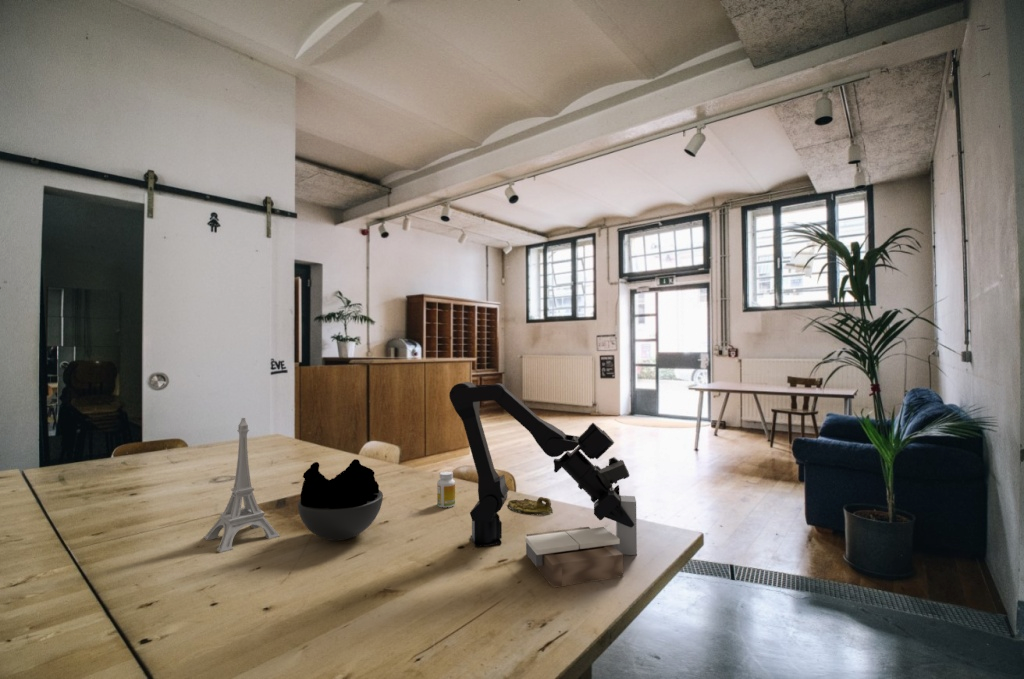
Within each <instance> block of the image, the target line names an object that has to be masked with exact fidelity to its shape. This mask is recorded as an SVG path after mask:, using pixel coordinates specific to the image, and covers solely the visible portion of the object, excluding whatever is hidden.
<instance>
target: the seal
mask: <svg viewBox="0 0 1024 679" xmlns="http://www.w3.org/2000/svg"><path fill="white" fill-rule="evenodd" d="M543 502H544V503H543ZM507 503H508V508H509V507H510V508H511V509H512V510H511V509H510V508H509V509H510V510H511V511H513V510H514V511H513V512H515V511H517V512H516V513H519V512H520V513H519V514H523V513H525V515H531V514H534V515H535V516H540V515H539V514H545V515H551V514H550V513H552V514H553V513H554V510H553V508H552V501H551V499H550V498H547V497H543V496H540V497H538V498H537V499H536V500H531V499H529V498H524V499H519V500H518V499H511V500H509V501H508V502H507ZM537 514H538V515H537ZM534 515H533V516H534Z"/></svg>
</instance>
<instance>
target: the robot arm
mask: <svg viewBox="0 0 1024 679" xmlns="http://www.w3.org/2000/svg"><path fill="white" fill-rule="evenodd" d="M449 400H450V402H451V404H452V406H453V409H454V411H455V413H456V414H457V415H458V417H459V418H460V419H461V421H462V423H463V427H464V431H465V434H466V438H467V442H468V445H469V448H470V452H471V455H472V456H471V457H472V459H473V463H474V467H475V471H476V474H477V477H478V478H477V479H478V480H477V493H478V494H477V496H478V501H477V503H476V504H474V506H473V507H472V509H471V510H470V511H469V515H470V518H471V535H470V536H469V537H470V540H471V542H472V544H473V545H474V547H475V548H480V547H488V546H495V545H502V540H501V539H502V537H503V536H502V534H503V532H502V531H503V529H502V526H503V524H502V521H501V520H500V515H499V514H498V513H499V511H501V509H502V508H503V506H504V504H505V502H506V501H507V499H508V492H509V491H510V488H509V487H508V486H507V483H506V476H505V474H502V475H499V474H498V472H497V471H496V469H495V467H494V462H493V459H492V456H491V451H490V448H489V445H488V441H487V438H486V435H485V430H484V427H483V425H482V420H481V417H480V405H481V404H480V402H487V401H494V402H495V403H497V405H499V406H500V407H501V408H502V409H503V410H505V411H506V412H507V413H508V414H509V415H510V416H511V417H512V418H513V419H514V420H516V421H517V422H518V423H519V424H520V425H521V426H522V427H523V428H525V429H526V430H527V431H528V432H529V434H531V436H532V437H533V439H534V441H535V443H536V444H537V445H538V446H539V447H540V449H541V450H542V452H544V453H545V455H547V456H548V457H551V458H554V459H553V465H554V466H553V467H554V468H553V472H554V473H558V472H559V471H560V470H561V469H563V470H564V471H565V472H566V473H567V474H568V475H569V476H570V477H571V478H572V479H573V480H574V481H575V482H576V484H577V487H578V488H579V489H580V490H583V491H584V492H585V493H586V494H587V495H588V496H589V497H590V501H591V502H592V503H593V515H594V516H595V517H596V518H597V519H598V520H599V521H602V520H603V519H605V518H606V519H608V520H610V521H614V522H615V523H616V522H619V523H621V524H623V525H626V526H628V527H633V526H634V523H633V521H632V520H631V518H630V517H629V516H628V514H627V513H626V511H625V510H624V509H623V507H622V506H621V496H622V495H621V494H620V485H619V484H617V483H618V481H620V480H625V479H628V478H629V477H630V473H629V472H630V471H629V470H628V468H627V466H626V464H625V462H624V460H623V459H617V458H616V457H615V456H613V457H611V458H608V465H605V467H603V468H601V467H600V466H599V465H596V464H593V463H592V462H591V461H590V460H594V459H595V460H599V458H601V457H602V455H604V454H605V453H606V452H607V451H608V450H609V449H610V448H611V447H612V446H613V445H614V444H615V441H614V440H613V439H612V438H611V436H610V435H609V434H608V433H607V432H606V431H605V430H603V429H601V428H600V427H599V426H598V425H596V424H595V423H594V422H592V423H590V424H589V425H588V427H587V429H586V430H585V431H584V432H582V433H581V434H580V435H579V436H578V435H572V434H566V433H565V432H564V431H563V430H561V429H560V428H558V427H556V426H555V425H553V424H551V423H549V422H547V421H546V420H544V419H542V418H540V417H539V416H538V415H537V414H536V413H535V412H534V411H532V410H531V409H530V408H529V407H528V406H527V405H526V404H524V403H523V402H522V401H521V400H520V399H519V398H517V396H516V395H515V394H513V393H512V392H511V391H510V390H508V389H507V387H506V386H505V385H504V384H502V383H500V382H497V383H494V384H474V383H472V382H470V381H464V382H460V383H457V384H455V385H454V386H452V387H451V389H450V391H449ZM571 451H572V452H571ZM560 456H561V457H560ZM556 457H560V458H556ZM614 484H615V485H616V484H617V485H616V486H615V487H613V485H614ZM618 495H621V496H618Z"/></svg>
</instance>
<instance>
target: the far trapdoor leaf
mask: <svg viewBox="0 0 1024 679" xmlns="http://www.w3.org/2000/svg"><path fill="white" fill-rule="evenodd" d="M589 528H590V529H582V530H574V531H566V533H567V534H568V535H569V536H570V537H571V538H572V539H573V540H574V541H576V542H577V543H578V544H579V549H584V548H592V547H599V546H606V545H612V546H613V547H614V548H616V549H617V550H618V551H619V544H620V539H619V538H618V537H616V534H613V532H611V531H610V530H609V529H607V528H606V527H604V526H599V527H598V526H597V527H589Z"/></svg>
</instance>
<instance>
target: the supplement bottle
mask: <svg viewBox="0 0 1024 679" xmlns="http://www.w3.org/2000/svg"><path fill="white" fill-rule="evenodd" d="M453 478H454V473H453V471H441V472H440V473H439V480H437V488H436V489H437V493H436V495H437V498H436V500H437V507H439V508H442V507H443V509H445V508H446V509H447V507H448V508H452V506H453V507H454V506H456V481H455V479H453Z"/></svg>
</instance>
